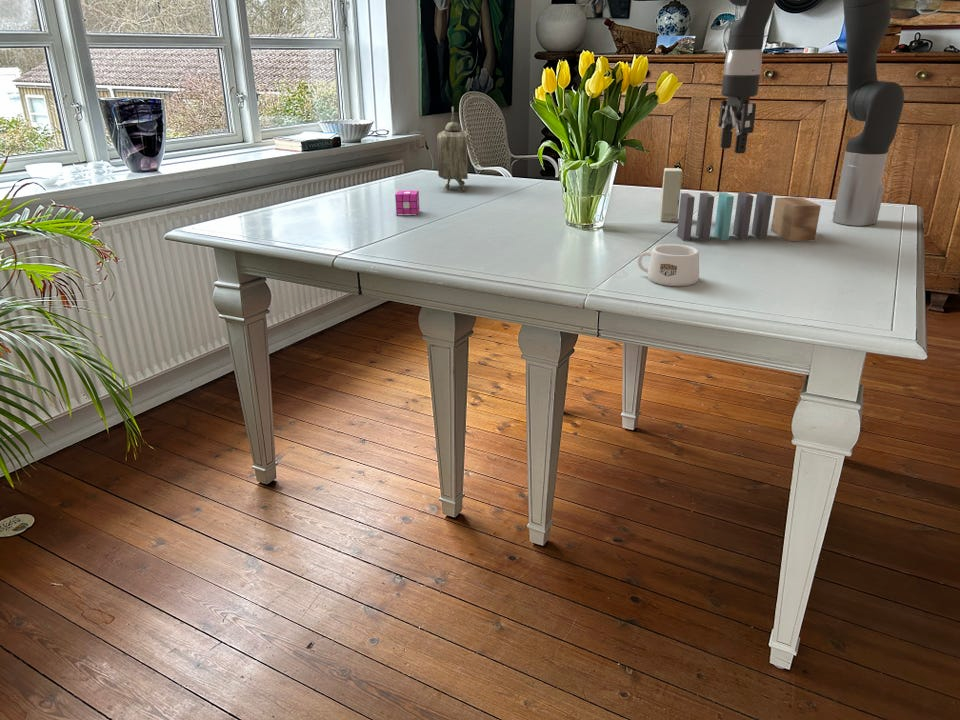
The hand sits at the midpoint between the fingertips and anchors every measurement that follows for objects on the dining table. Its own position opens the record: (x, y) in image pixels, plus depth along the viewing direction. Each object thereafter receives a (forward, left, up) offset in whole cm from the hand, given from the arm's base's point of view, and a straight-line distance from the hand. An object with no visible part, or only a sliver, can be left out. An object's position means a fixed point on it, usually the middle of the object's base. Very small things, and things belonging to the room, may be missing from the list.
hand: (732, 150), depth 160 cm
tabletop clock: (+62, -69, -20) cm, 95 cm away
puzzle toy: (+75, -34, -20) cm, 85 cm away
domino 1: (+9, 0, -20) cm, 22 cm away
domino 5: (-9, 0, -20) cm, 22 cm away
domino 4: (-4, 0, -20) cm, 20 cm away
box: (+7, -19, -20) cm, 28 cm away
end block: (-17, 0, -20) cm, 26 cm away
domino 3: (0, 0, -20) cm, 20 cm away
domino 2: (+5, 0, -20) cm, 20 cm away
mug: (+22, +31, -20) cm, 43 cm away
